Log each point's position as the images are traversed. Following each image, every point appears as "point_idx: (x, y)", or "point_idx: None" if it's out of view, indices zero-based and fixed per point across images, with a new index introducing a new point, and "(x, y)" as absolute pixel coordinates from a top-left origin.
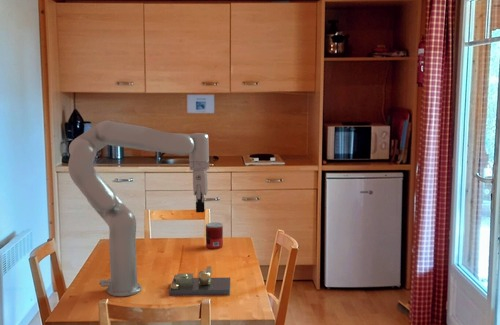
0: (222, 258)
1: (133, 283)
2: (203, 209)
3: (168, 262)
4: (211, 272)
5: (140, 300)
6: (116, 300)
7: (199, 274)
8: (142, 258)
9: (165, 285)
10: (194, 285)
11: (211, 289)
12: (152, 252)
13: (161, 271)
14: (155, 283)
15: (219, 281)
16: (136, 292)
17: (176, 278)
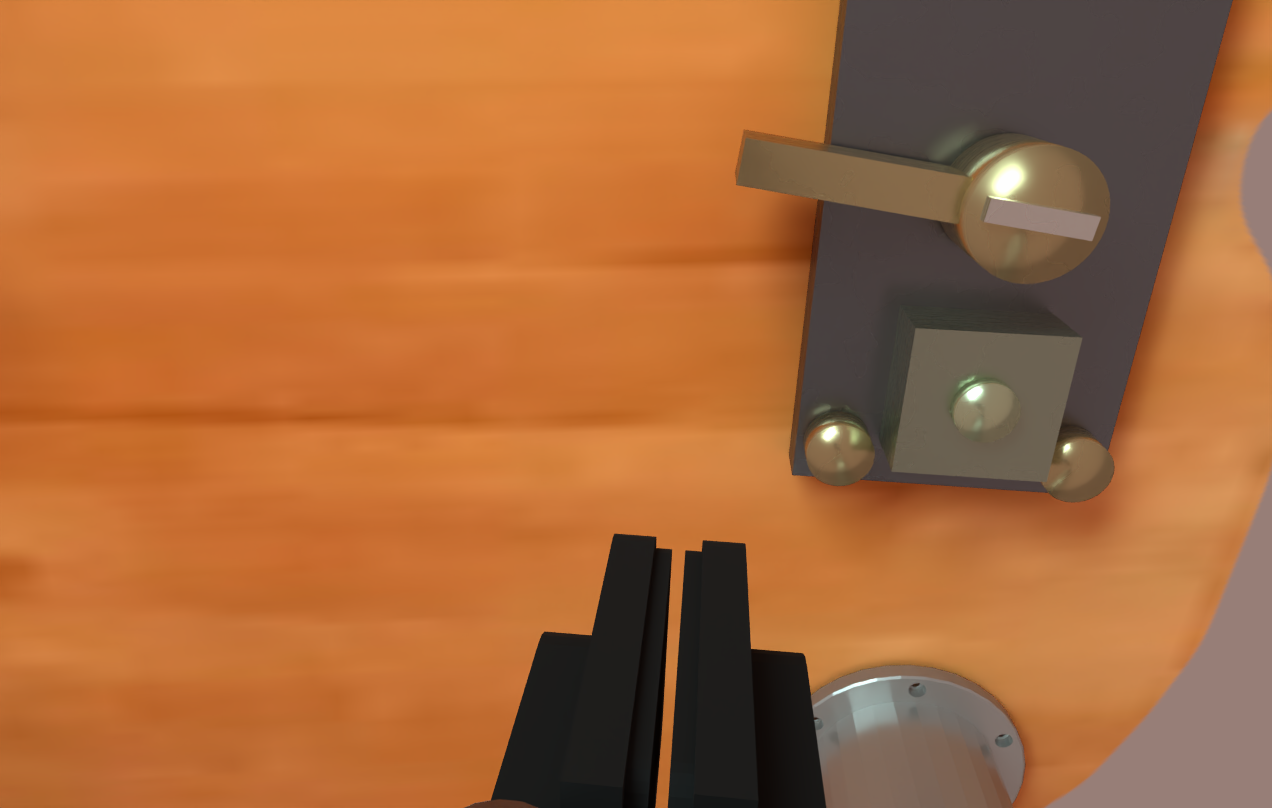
0: (87, 12)
1: (977, 756)
2: (748, 608)
3: (276, 513)
4: (748, 131)
5: (1117, 654)
6: (1072, 783)
7: (1068, 270)
8: (204, 691)
9: (833, 511)
10: (1025, 292)
11: (1186, 122)
12: (47, 635)
13: (501, 553)
14: (776, 581)
15: (966, 37)
16: (984, 693)
17: (1030, 475)
